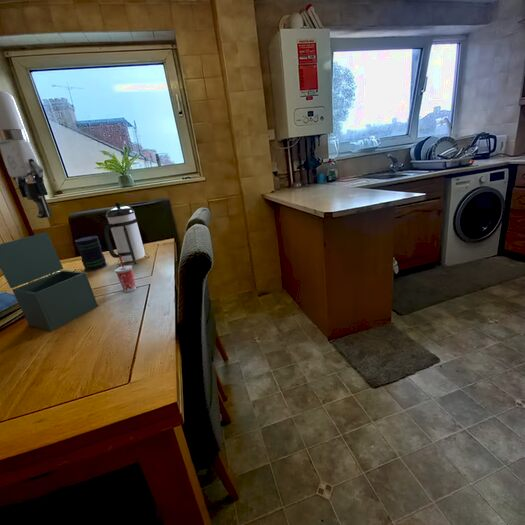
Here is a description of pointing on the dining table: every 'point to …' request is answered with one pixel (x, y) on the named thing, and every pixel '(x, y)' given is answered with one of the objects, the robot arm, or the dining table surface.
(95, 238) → the storage jar
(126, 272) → the beverage cup
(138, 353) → the dining table surface
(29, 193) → the battery charger
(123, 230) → the coffee press
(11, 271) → the cover
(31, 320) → the case
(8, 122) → the robot arm
